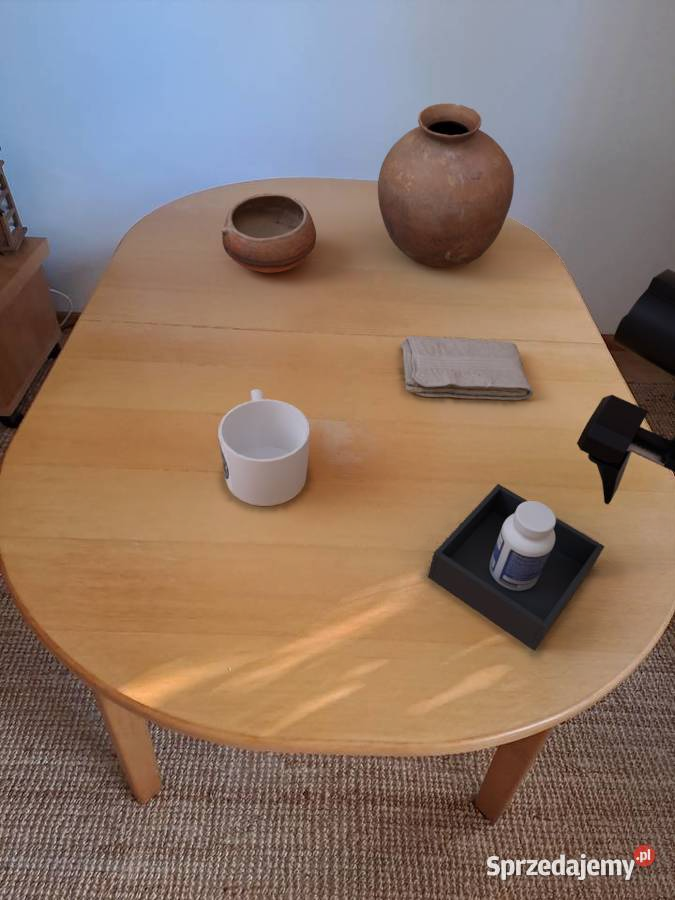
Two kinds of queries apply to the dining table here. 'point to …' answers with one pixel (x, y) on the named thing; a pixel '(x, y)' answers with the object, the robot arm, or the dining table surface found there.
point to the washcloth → (464, 368)
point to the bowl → (269, 232)
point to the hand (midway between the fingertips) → (654, 524)
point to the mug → (264, 450)
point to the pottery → (445, 188)
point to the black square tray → (517, 612)
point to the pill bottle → (523, 546)
